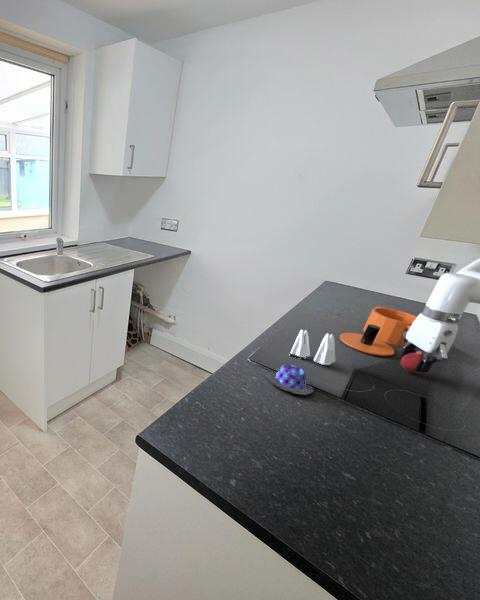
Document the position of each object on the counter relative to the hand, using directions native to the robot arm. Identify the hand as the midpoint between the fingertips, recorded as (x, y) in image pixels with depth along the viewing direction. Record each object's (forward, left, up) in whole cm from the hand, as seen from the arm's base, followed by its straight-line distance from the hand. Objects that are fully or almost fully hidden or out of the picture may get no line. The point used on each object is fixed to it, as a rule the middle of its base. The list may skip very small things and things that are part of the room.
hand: (412, 364), depth 99 cm
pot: (-11, -27, -3) cm, 29 cm away
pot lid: (+3, -16, -2) cm, 17 cm away
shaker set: (+29, +1, -3) cm, 29 cm away
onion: (0, 0, -3) cm, 3 cm away
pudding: (+42, +17, -3) cm, 46 cm away
